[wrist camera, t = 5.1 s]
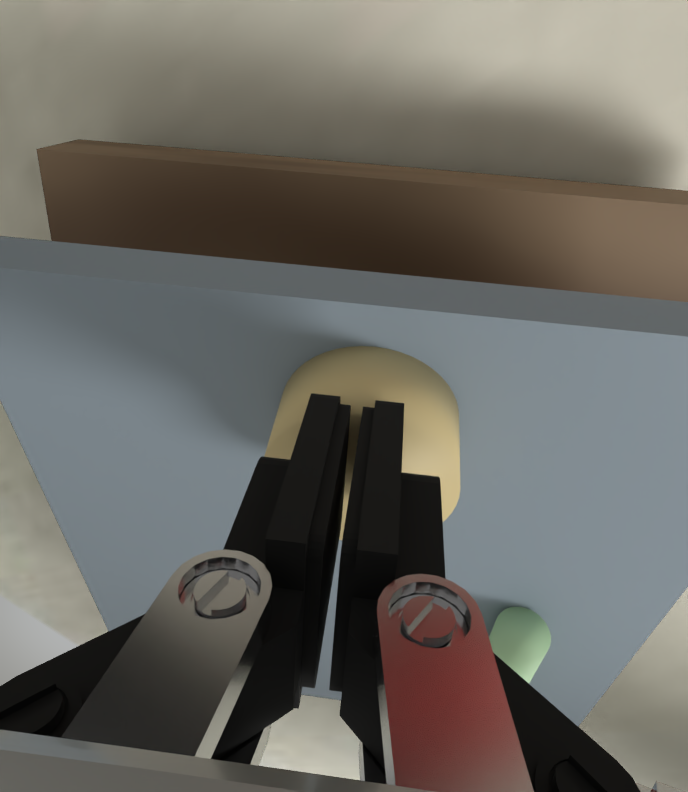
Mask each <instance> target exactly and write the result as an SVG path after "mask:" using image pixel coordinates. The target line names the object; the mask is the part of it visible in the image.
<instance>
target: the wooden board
mask: <svg viewBox="0 0 688 792" xmlns="http://www.w3.org/2000/svg"><path fill="white" fill-rule="evenodd" d="M37 154H38V160H39V166H40V172H41V178H42V185H43V191H44V197H45V203H46V209H47V215H48V221H49V227H50V233H51V239H52V241H56V242H67V243H77V244H88V245H98V246H108V247H119V248H129V249H140V250H150V251H160V252H171V253H181V254H192V255H202V256H212V257H223V258H233V259H244V260H254V261H264V262H275V263H285V264H296V265H306V266H316V267H327V268H337V269H347V270H358V271H368V272H379V273H389V274H399V275H410V276H420V277H431V278H441V279H451V280H462V281H472V282H483V283H493V284H503V285H514V286H524V287H535V288H545V289H555V290H566V291H576V292H587V293H597V294H607V295H618V296H628V297H638V298H649V299H659V300H670V301H680V302H688V191H683V190H671V189H659V188H648V187H636V186H624V185H612V184H600V183H588V182H576V181H565V180H553V179H541V178H529V177H517V176H505V175H494V174H482V173H470V172H458V171H446V170H434V169H422V168H411V167H399V166H387V165H375V164H363V163H351V162H340V161H328V160H316V159H304V158H292V157H280V156H268V155H257V154H245V153H233V152H221V151H209V150H197V149H185V148H174V147H162V146H150V145H138V144H126V143H114V142H103V141H91V140H74V141H70V142H66V143H61V144H57V145H53V146H48V147H44V148H40V149H37Z"/></svg>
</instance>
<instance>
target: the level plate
mask: <svg viewBox="0 0 688 792" xmlns="http://www.w3.org/2000/svg"><path fill="white" fill-rule="evenodd" d="M311 393H314V394H323V395H332V396H340V398H341V402H340V404H345V405H351V413H350V425H349V437H348V450H347V462H346V474H345V487H344V499H343V511H342V522H341V531H340V538H339V544H338V550H337V556H336V562H335V568H334V575H333V581H332V587H331V593H330V599H329V605H328V612H327V618H326V624H325V630H324V636H323V643H322V649H321V655H320V661H319V667H318V673H317V680H316V685H315V688H308V687H302V692H301V695H308V696H315V697H322V698H329V699H335V700H341V697H342V692H338V691H331V690H329V686H330V674H331V662H332V650H333V638H334V625H335V613H336V601H337V589H338V577H339V565H340V555H341V546H342V539H343V532H344V525H345V519H346V512H347V506H348V500H349V493H350V487H351V480H352V474H353V468H354V461H355V455H356V449H357V442H358V436H359V429H360V423H361V417H362V410H363V406H364V407H373V408H374V407H375V400H379V401H388V402H398V403H404V425H403V450H402V472H403V473H412V474H420V475H429V476H438V477H439V478H440V483H441V501H442V520H443V539H444V558H445V578H446V579H447V580H450V581H452V582H454V583H456V584H457V585H459V586H460V587H462V588H463V589H465V590H466V591H467V592H468V593H469V594H470V595H471V597H472V598H473V599H474V600H475V601H476V603H477V605H478V607H479V609H480V611H481V613H482V616H483V620H484V623H485V626H486V630H487V633H488V637H489V640H490V643H491V647H492V650H493V653H494V654H496V655H497V656H498V657H499V658H500V659H501V660H502V661H504V662H505V663H506V664H507V665H508V666H509V667H510V668H512V669H513V670H514V671H515V672H516V673H517V674H518V675H520V676H521V677H522V678H523V679H524V680H525V681H526V682H528V683H529V684H530V685H531V686H532V687H533V688H534V689H536V690H537V691H538V692H539V693H540V694H541V695H542V696H544V697H545V698H546V699H547V700H548V701H549V702H550V703H551V704H553V705H554V706H555V707H556V708H557V709H558V710H559V711H561V712H562V713H563V714H564V715H565V716H566V717H567V718H569V719H570V720H571V721H572V722H573V723H574V724H575V725H577V726H579V725H580V724H581V722H582V721H583V720H584V718H585V717H586V716H587V715H588V713H589V712H590V711H591V710H592V708H593V707H594V706H595V704H596V703H597V702H598V701H599V699H600V698H601V697H602V695H603V694H604V693H605V692H606V690H607V689H608V688H609V687H610V685H611V684H612V683H613V681H614V680H615V679H616V678H617V676H618V675H619V674H620V673H621V671H622V670H623V669H624V667H625V666H626V665H627V664H628V662H629V661H630V660H631V658H632V657H633V656H634V655H635V653H636V652H637V651H638V650H639V648H640V647H641V646H642V644H643V643H644V642H645V641H646V639H647V638H648V637H649V636H650V634H651V633H652V632H653V630H654V629H655V628H656V627H657V625H658V624H659V623H660V621H661V620H662V619H663V618H664V616H665V615H666V614H667V613H668V611H669V610H670V609H671V607H672V606H673V605H674V604H675V602H676V601H677V600H678V599H679V597H680V596H681V595H682V593H683V592H684V591H685V590H686V588H687V587H688V302H680V301H670V300H659V299H649V298H638V297H628V296H618V295H607V294H597V293H587V292H576V291H566V290H555V289H545V288H535V287H524V286H514V285H503V284H493V283H483V282H472V281H462V280H451V279H441V278H431V277H420V276H410V275H399V274H389V273H379V272H368V271H358V270H347V269H337V268H327V267H316V266H306V265H296V264H285V263H275V262H264V261H254V260H244V259H233V258H223V257H212V256H202V255H192V254H181V253H171V252H160V251H150V250H140V249H129V248H119V247H108V246H98V245H88V244H77V243H67V242H56V241H46V240H36V239H25V238H15V237H5V236H0V401H1V403H2V405H3V407H4V409H5V411H6V413H7V415H8V418H9V420H10V422H11V424H12V426H13V428H14V430H15V433H16V435H17V437H18V439H19V441H20V443H21V445H22V447H23V450H24V452H25V454H26V456H27V458H28V460H29V462H30V464H31V467H32V469H33V471H34V473H35V475H36V477H37V479H38V482H39V484H40V486H41V488H42V490H43V492H44V494H45V496H46V499H47V501H48V503H49V505H50V507H51V509H52V511H53V514H54V516H55V518H56V520H57V522H58V524H59V526H60V528H61V531H62V533H63V535H64V537H65V539H66V541H67V543H68V546H69V548H70V550H71V552H72V554H73V556H74V558H75V560H76V563H77V565H78V567H79V569H80V571H81V573H82V575H83V577H84V580H85V582H86V584H87V586H88V588H89V590H90V592H91V595H92V597H93V599H94V601H95V603H96V605H97V607H98V609H99V612H100V614H101V616H102V618H103V620H104V622H105V624H106V627H107V629H108V631H111V630H113V629H115V628H117V627H119V626H121V625H123V624H125V623H127V622H129V621H131V620H133V619H136V618H138V617H140V616H142V615H144V614H146V612H147V611H148V609H149V608H150V606H151V605H152V603H153V602H154V600H155V599H156V598H157V596H158V595H159V593H160V592H161V590H162V589H163V587H164V586H165V584H166V583H167V581H168V580H169V578H170V577H171V576H172V574H173V573H174V572H175V571H176V570H177V569H178V568H179V567H180V566H181V565H182V564H183V563H184V562H186V561H188V560H189V559H191V558H193V557H194V556H197V555H200V554H203V553H206V552H209V551H216V550H223V549H224V546H225V544H226V541H227V538H228V536H229V533H230V531H231V528H232V526H233V523H234V521H235V518H236V516H237V513H238V510H239V508H240V505H241V503H242V500H243V498H244V495H245V493H246V490H247V488H248V485H249V482H250V480H251V477H252V475H253V472H254V470H255V467H256V465H257V462H258V460H259V458H260V457H262V456H263V457H272V458H280V459H289V460H290V459H291V456H292V452H293V449H294V446H295V443H296V440H297V436H298V433H299V430H300V427H301V424H302V421H303V417H304V414H305V411H306V408H307V405H308V402H309V398H310V395H311Z"/></svg>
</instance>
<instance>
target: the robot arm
mask: <svg viewBox="0 0 688 792" xmlns="http://www.w3.org/2000/svg"><path fill="white" fill-rule="evenodd" d="M340 402H341V398H340V396H332V395H323V394H314V393H311V395H310V398H309V402H308V405H307V408H306V411H305V414H304V417H303V421H302V424H301V427H300V430H299V433H298V436H297V440H296V443H295V446H294V449H293V452H292V456H291V459H290V460H289V459H280V458H272V457H263V456H262V457H260V458H259V460H258V462H257V465H256V467H255V470H254V472H253V475H252V477H251V480H250V482H249V485H248V488H247V490H246V493H245V495H244V498H243V500H242V503H241V505H240V508H239V510H238V513H237V516H236V518H235V521H234V523H233V526H232V528H231V531H230V533H229V536H228V538H227V541H226V544H225V546H224V549H223V550H216V551H209V552H206V553H203V554H200V555H197V556H194V557H193V558H191V559H189V560H188V561H186V562H184V563H183V564H182V565H181V566H180V567H179V568H178V569H177V570H176V571H175V572H174V573H173V574H172V576H171V577H170V578H169V580H168V581H167V583H166V584H165V586H164V587H163V589H162V590H161V592H160V593H159V595H158V596H157V598H156V599H155V600H154V602H153V603H152V605H151V606H150V608H149V609H148V611H147V612H146V614H144V615H142V616H140V617H138V618H136V619H133V620H131V621H129V622H127V623H125V624H123V625H121V626H119V627H117V628H115V629H113V630H111V631H109V632H107V633H105V634H103V635H101V636H99V637H96V638H94V639H92V640H90V641H88V642H86V643H84V644H82V645H80V646H78V647H76V648H74V649H72V650H70V651H68V652H66V653H64V654H62V655H59V656H57V657H55V658H53V659H51V660H49V661H47V662H45V663H43V664H41V665H39V666H37V667H35V668H33V669H31V670H29V671H26V672H24V673H22V674H20V675H18V676H16V677H15V678H13V679H11V680H10V681H8V682H6V683H5V684H3V685H2V686H0V792H685V791H682V790H679V789H677V788H674V787H671V786H668V785H666V784H663V783H660V782H657V781H656V783H655V785H654V786H653V788H652V789H651V788H648V787H646V786H643V785H640V784H637V783H635V781H634V780H633V778H632V777H631V776H630V774H629V773H628V772H627V771H626V770H625V769H624V768H623V767H622V766H621V765H620V764H619V763H618V762H617V760H615V759H614V758H613V757H612V756H611V755H610V754H609V753H607V752H606V751H605V750H604V749H603V748H602V747H601V746H599V745H598V744H597V743H596V742H595V741H594V740H593V739H591V738H590V737H589V736H588V735H587V734H586V733H585V732H583V731H582V730H581V729H580V728H579V727H578V726H577V725H575V724H574V723H573V722H572V721H571V720H570V719H569V718H567V717H566V716H565V715H564V714H563V713H562V712H561V711H559V710H558V709H557V708H556V707H555V706H554V705H553V704H551V703H550V702H549V701H548V700H547V699H546V698H545V697H544V696H542V695H541V694H540V693H539V692H538V691H537V690H536V689H534V688H533V687H532V686H531V685H530V684H529V683H528V682H526V681H525V680H524V679H523V678H522V677H521V676H520V675H518V674H517V673H516V672H515V671H514V670H513V669H512V668H510V667H509V666H508V665H507V664H506V663H505V662H504V661H502V660H501V659H500V658H499V657H498V656H497V655H496V654H494V653H493V650H492V647H491V643H490V640H489V637H488V633H487V630H486V626H485V623H484V620H483V616H482V613H481V611H480V609H479V607H478V605H477V603H476V601H475V600H474V599H473V598H472V597H471V595H470V594H469V593H468V592H467V591H466V590H465V589H463V588H462V587H460V586H459V585H457V584H456V583H454V582H452V581H450V580H447V579H446V578H445V558H444V539H443V520H442V501H441V483H440V478H439V477H438V476H429V475H420V474H412V473H403V472H402V450H403V425H404V403H398V402H388V401H379V400H375V407H374V408H373V407H364V406H363V410H362V417H361V423H360V429H359V436H358V442H357V449H356V455H355V461H354V468H353V474H352V480H351V487H350V493H349V500H348V506H347V512H346V519H345V525H344V532H343V539H342V546H341V555H340V565H339V577H338V589H337V601H336V613H335V625H334V638H333V650H332V662H331V674H330V686H329V690H331V691H338V692H342V697H341V707H340V716H341V718H342V719H343V720H344V721H345V722H346V724H347V725H348V726H349V727H350V728H351V730H352V731H353V732H354V733H355V735H356V736H357V737H358V738H359V739H360V744H359V769H360V780H353V779H346V778H339V777H332V776H325V775H318V774H311V773H305V772H298V771H291V770H284V769H277V768H270V767H263V766H259V763H260V761H261V758H262V755H263V753H264V750H265V747H266V745H267V742H268V738H269V733H270V729H271V724H272V723H273V722H275V721H276V720H278V719H279V718H281V717H282V716H284V715H285V714H287V713H288V712H290V711H291V710H293V708H299V703H300V697H301V692H302V687H308V688H315V685H316V680H317V673H318V667H319V661H320V655H321V649H322V643H323V636H324V630H325V624H326V618H327V612H328V605H329V599H330V593H331V587H332V581H333V575H334V568H335V562H336V556H337V550H338V544H339V538H340V531H341V522H342V511H343V499H344V487H345V474H346V462H347V450H348V437H349V425H350V413H351V405H345V404H340Z"/></svg>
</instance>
